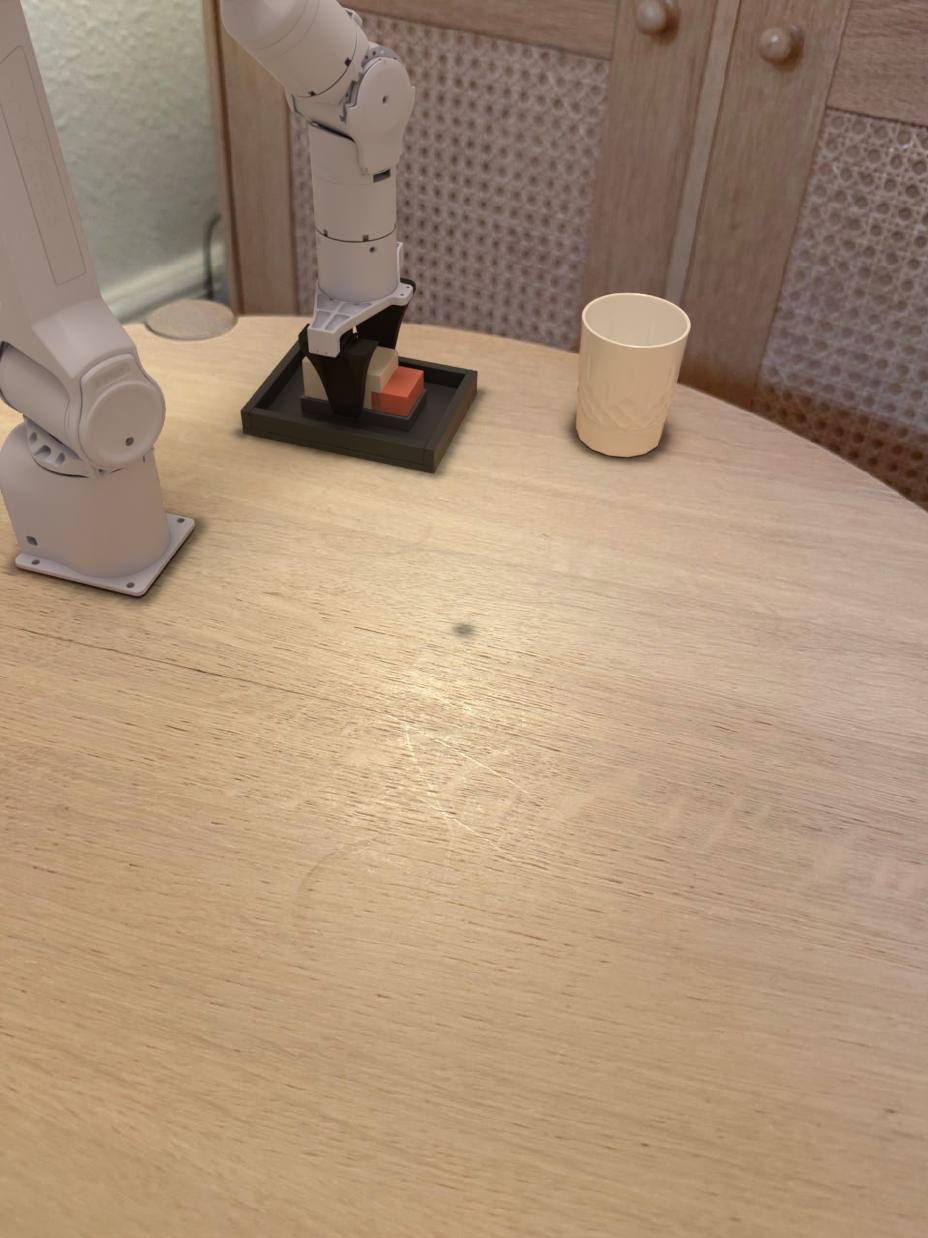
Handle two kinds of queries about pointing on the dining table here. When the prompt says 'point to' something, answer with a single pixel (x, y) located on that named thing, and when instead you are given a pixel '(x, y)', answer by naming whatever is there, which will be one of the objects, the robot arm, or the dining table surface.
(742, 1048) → the dining table surface
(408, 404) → the blocks on dark base
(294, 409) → the black rectangular tray
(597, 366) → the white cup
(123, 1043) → the dining table surface
